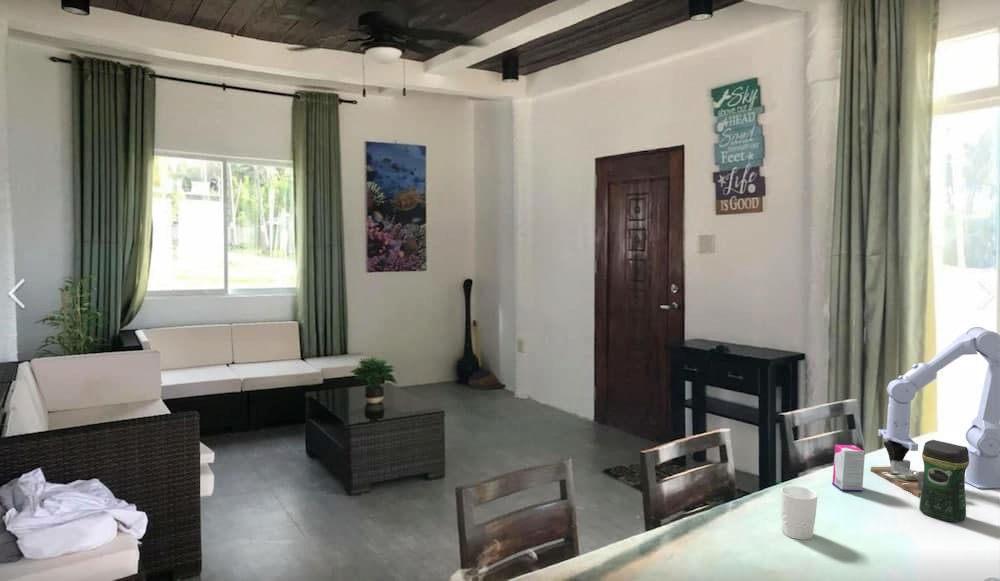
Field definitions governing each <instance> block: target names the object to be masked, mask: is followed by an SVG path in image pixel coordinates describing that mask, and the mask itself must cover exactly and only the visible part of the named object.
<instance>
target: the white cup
mask: <svg viewBox="0 0 1000 581" xmlns="http://www.w3.org/2000/svg"><path fill="white" fill-rule="evenodd" d="M818 496H819V495H818V493H817V492H816V491H814V490H812V489H811V488H807V487H804V486H803V487H802V486H794V485H793V486H792V485H789V486H788V485H787V486H784V487H781V488H780V520H781V532H782V534H784V536H787V537H788V538H792V539H795V540H802V541H804V540H810V539H812V538H813V536H814V528H815V523H816V516H817V508H818V507H817V506H818Z"/></svg>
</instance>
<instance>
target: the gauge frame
mask: <svg viewBox="0 0 1000 581" xmlns="http://www.w3.org/2000/svg"><path fill="white" fill-rule="evenodd" d="M870 472H871V473H874V474H876V475H877V476H879V477H881V478H882V479H884V480H886V481H888V482H890V483H891V484H893V485H895V486H897V487H898V488H900V489H902V490H904V491H906V492H907V491H908V492H907V493H909V492H910V493H909V494H911V493H912V494H911V495H913V496H915V497H917V498H920V497H921V491H922V485H923V478H924V470H922V471H918V472H919V475H918V480H904V479H902V478H900V477H898V476H896V475H891V465H890V466H871V467H870Z"/></svg>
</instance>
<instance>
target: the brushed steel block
mask: <svg viewBox="0 0 1000 581" xmlns="http://www.w3.org/2000/svg"><path fill="white" fill-rule="evenodd" d="M890 466H891V475H896V476H898V477H900V478H902V479H904V480H918V475H919V472H920V471H917V470H916V469H914V470H912V469H911V460H908V459H903V460H891V464H890Z"/></svg>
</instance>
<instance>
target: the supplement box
mask: <svg viewBox="0 0 1000 581" xmlns="http://www.w3.org/2000/svg"><path fill="white" fill-rule="evenodd" d="M865 452H866V451H865V450H863V449H861V448H860V447H859V446H857V445H855V444H853V445H852V444H835V445H834V456H833V457H834V458H833V470H832V471H833V472H832V485H833V486H834V487H835V488H837V489H838V490H839V491H840V492H845V493H846V492H847V493H848V492H851V493H854V492H855V493H856V492H857V493H862V492H863V487H864V486H863V485H864V484H863V483H864V472H865V471H864V470H865V456H866V455H865V454H866V453H865Z"/></svg>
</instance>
